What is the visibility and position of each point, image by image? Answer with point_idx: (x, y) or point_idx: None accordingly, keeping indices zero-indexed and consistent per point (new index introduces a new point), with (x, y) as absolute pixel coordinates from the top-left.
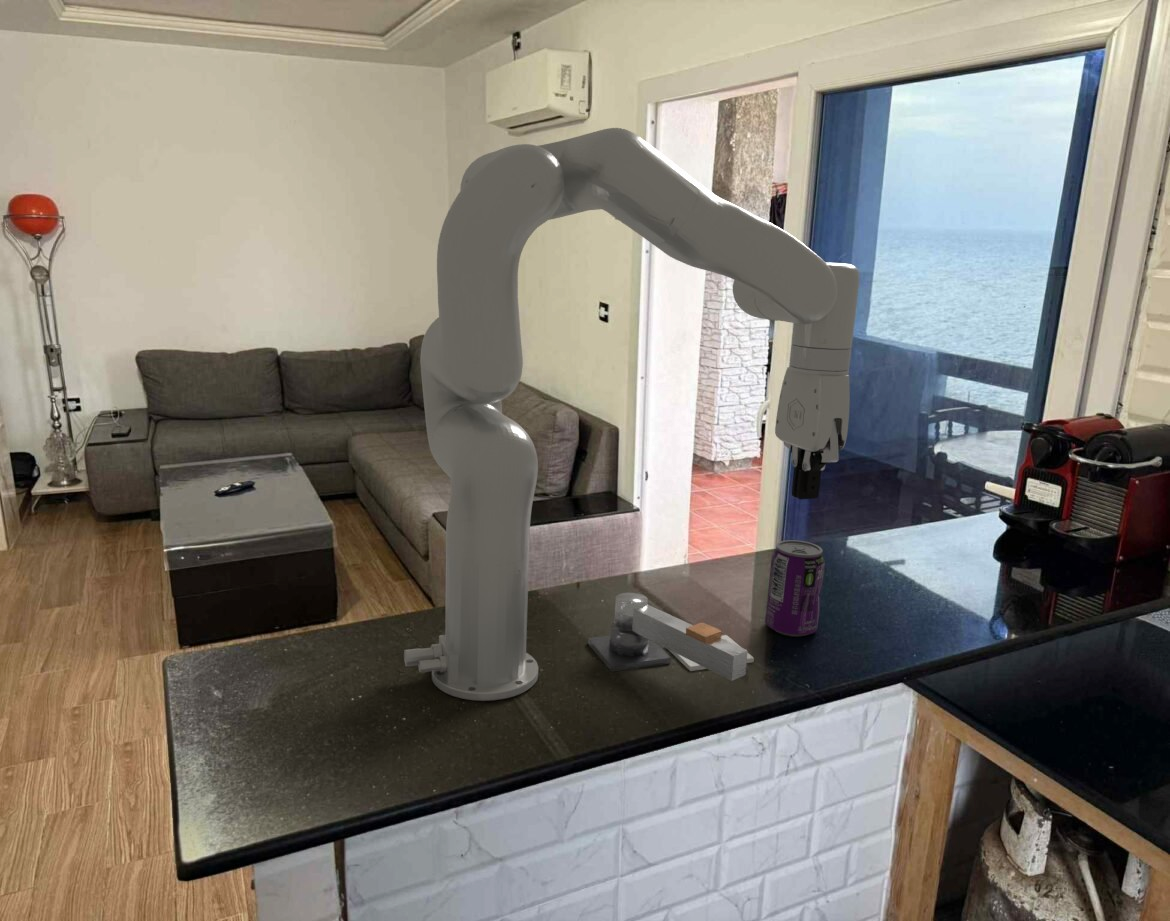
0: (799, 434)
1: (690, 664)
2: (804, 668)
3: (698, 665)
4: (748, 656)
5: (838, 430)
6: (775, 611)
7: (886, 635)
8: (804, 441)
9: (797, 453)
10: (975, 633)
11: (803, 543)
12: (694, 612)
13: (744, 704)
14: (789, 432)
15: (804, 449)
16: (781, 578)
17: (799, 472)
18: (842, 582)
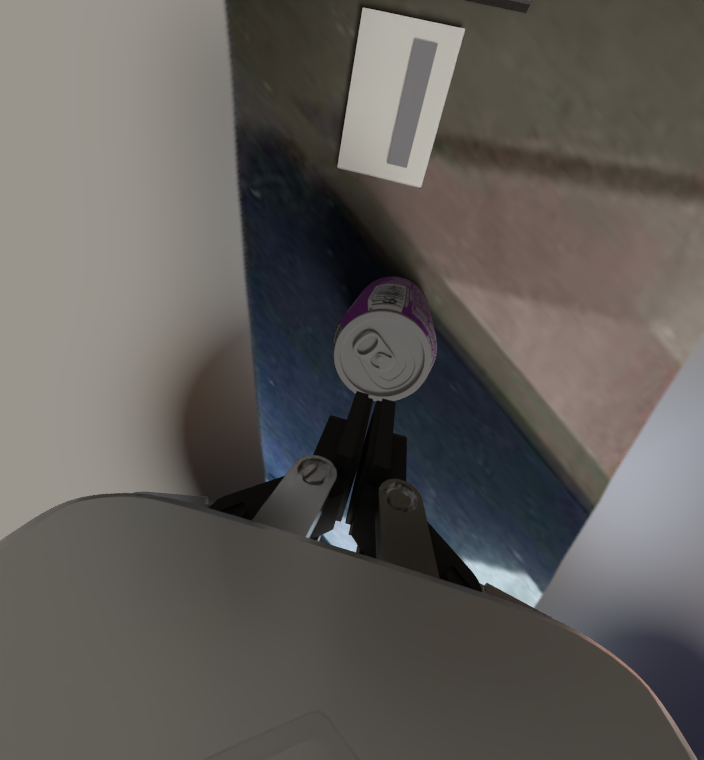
0: (222, 646)
1: (368, 14)
2: (294, 231)
3: (359, 31)
4: (344, 161)
5: None
6: (389, 280)
7: (320, 399)
8: (162, 559)
9: (382, 537)
10: (285, 471)
11: (400, 391)
12: (531, 215)
13: (240, 34)
14: (404, 683)
15: (228, 514)
16: (379, 292)
17: (349, 448)
18: (453, 483)
